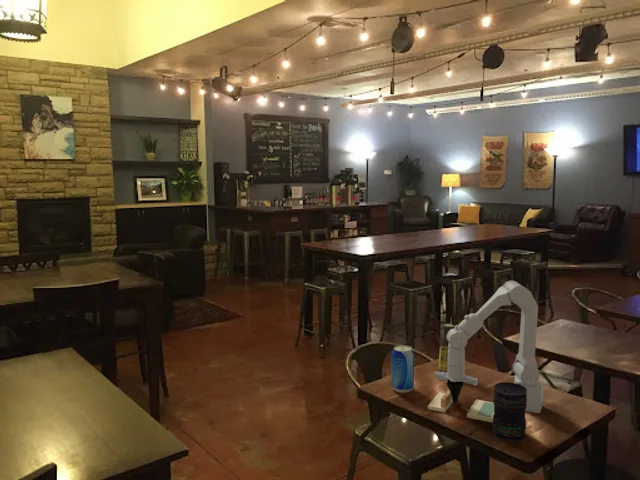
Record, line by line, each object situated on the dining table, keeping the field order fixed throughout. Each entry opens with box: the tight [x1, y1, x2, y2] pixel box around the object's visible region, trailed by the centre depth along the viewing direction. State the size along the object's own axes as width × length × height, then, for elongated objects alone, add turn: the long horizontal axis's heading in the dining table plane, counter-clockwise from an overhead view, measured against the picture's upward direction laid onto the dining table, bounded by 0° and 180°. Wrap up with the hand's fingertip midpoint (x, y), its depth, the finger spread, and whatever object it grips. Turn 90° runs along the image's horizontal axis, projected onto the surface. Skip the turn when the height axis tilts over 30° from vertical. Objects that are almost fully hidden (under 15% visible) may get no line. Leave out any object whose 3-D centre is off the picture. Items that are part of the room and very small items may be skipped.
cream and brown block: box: [427, 388, 454, 413], centre depth 197 cm, size 6×13×4 cm, turn 151°
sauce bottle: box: [438, 323, 455, 372], centre depth 225 cm, size 6×6×20 cm
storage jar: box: [492, 381, 527, 443], centre depth 174 cm, size 10×10×15 cm
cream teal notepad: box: [466, 399, 494, 424], centre depth 190 cm, size 9×13×1 cm
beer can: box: [390, 345, 415, 394], centre depth 210 cm, size 8×8×16 cm
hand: (455, 401), depth 195 cm, fingers closed
